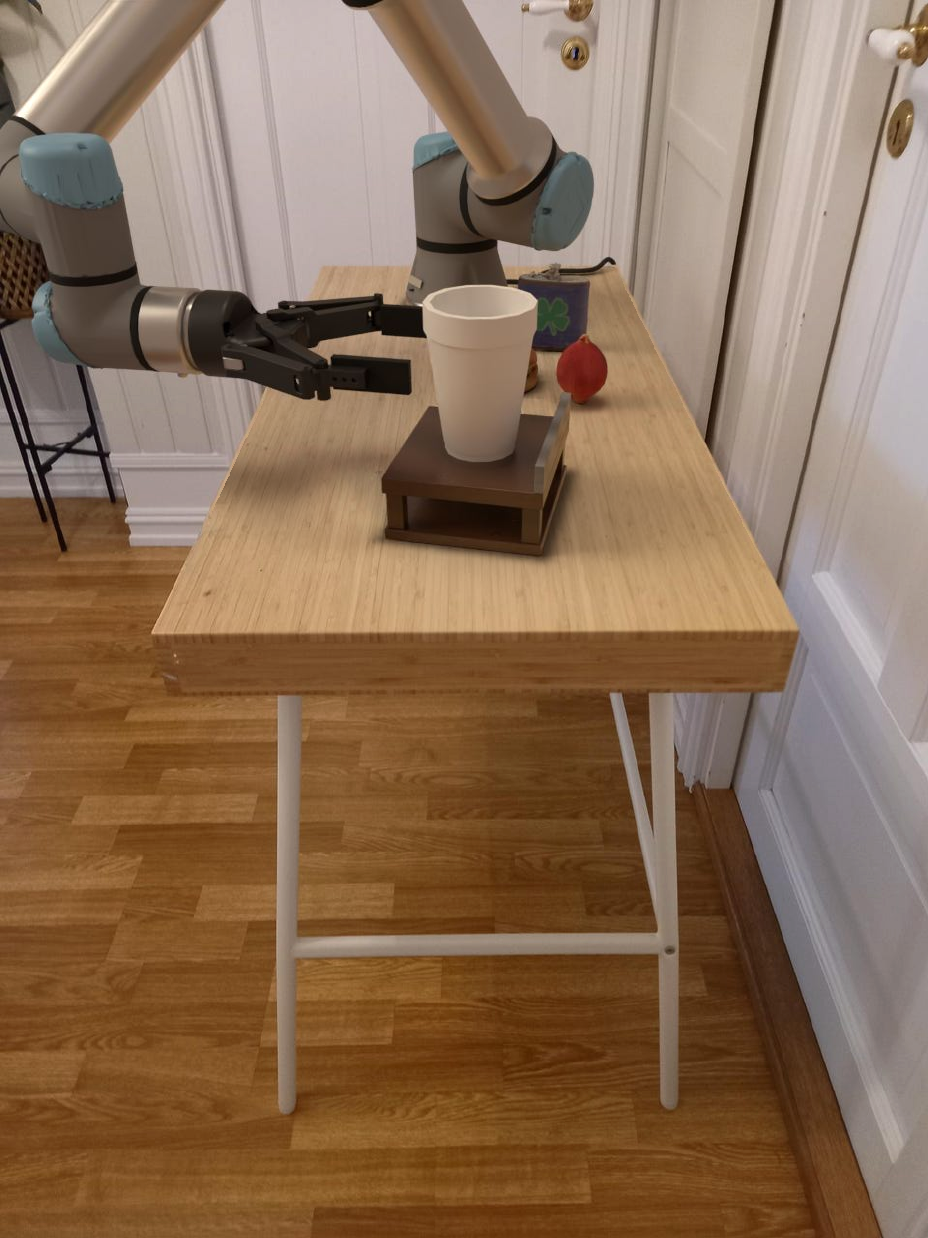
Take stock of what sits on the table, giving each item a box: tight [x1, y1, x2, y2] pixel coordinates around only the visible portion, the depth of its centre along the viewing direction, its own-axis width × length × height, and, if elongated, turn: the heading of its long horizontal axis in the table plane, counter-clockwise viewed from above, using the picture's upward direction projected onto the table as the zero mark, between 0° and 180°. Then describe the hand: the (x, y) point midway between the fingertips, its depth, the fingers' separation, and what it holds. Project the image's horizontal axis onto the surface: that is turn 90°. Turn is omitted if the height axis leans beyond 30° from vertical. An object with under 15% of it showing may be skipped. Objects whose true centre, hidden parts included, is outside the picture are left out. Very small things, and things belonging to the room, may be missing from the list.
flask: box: [517, 262, 591, 352], centre depth 120 cm, size 9×3×11 cm, turn 77°
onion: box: [555, 333, 609, 404], centre depth 105 cm, size 6×6×8 cm
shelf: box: [380, 391, 572, 557], centre depth 86 cm, size 16×14×8 cm
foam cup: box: [422, 285, 538, 462], centre depth 81 cm, size 10×9×13 cm
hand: (431, 348), depth 80 cm, fingers open, 13 cm apart
